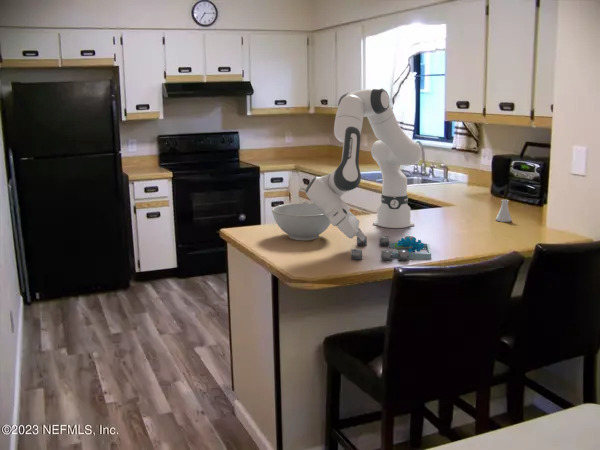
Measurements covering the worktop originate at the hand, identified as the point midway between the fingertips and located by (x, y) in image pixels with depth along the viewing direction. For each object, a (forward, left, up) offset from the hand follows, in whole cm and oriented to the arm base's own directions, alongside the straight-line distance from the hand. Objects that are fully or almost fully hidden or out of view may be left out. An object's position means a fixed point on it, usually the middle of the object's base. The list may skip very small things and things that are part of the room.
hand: (364, 238), depth 237 cm
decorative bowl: (-21, -26, -5) cm, 34 cm away
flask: (-66, +64, -6) cm, 92 cm away
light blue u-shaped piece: (-1, +17, -5) cm, 18 cm away
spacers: (-1, +8, -5) cm, 9 cm away
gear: (+1, +17, -6) cm, 18 cm away
